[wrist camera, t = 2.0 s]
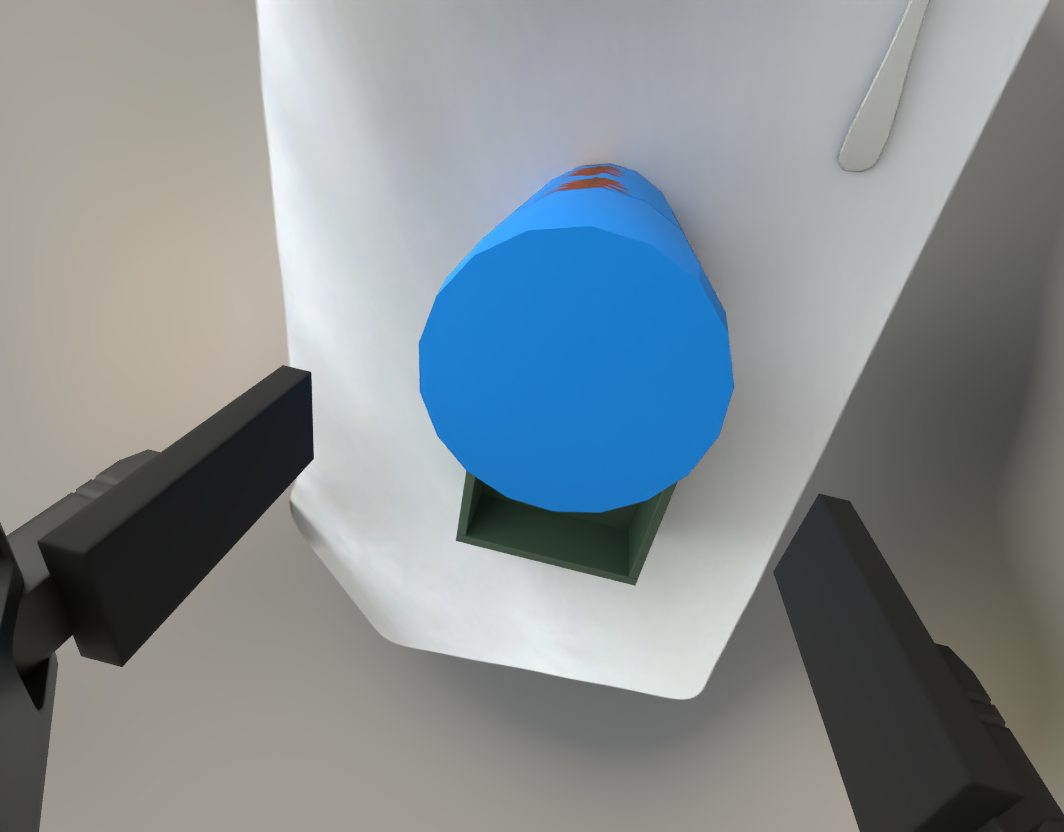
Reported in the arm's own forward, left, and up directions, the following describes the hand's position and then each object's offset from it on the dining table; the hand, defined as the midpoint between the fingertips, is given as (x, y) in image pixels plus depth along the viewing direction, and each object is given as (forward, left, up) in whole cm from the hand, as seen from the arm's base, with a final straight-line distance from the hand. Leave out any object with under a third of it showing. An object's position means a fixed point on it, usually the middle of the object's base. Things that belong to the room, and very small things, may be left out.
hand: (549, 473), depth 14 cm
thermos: (0, 0, -30) cm, 30 cm away
